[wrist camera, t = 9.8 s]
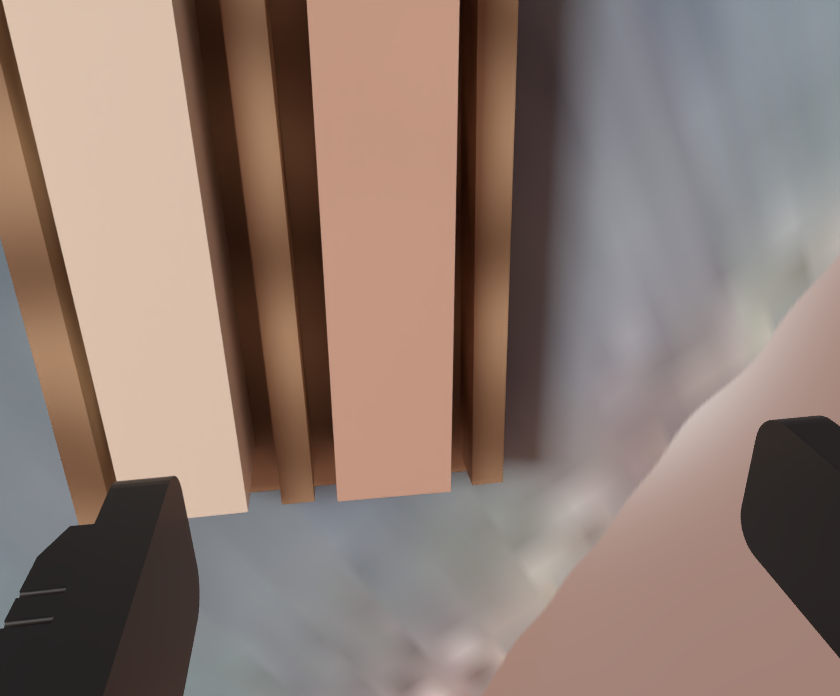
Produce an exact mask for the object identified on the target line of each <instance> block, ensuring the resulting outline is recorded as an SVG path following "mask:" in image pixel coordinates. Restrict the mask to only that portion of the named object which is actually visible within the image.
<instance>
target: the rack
mask: <svg viewBox="0 0 840 696" xmlns="http://www.w3.org/2000/svg"><path fill="white" fill-rule="evenodd" d="M194 1H195V9H196V16H197V23H198V31H199V38H200V45H201V52H202V60H203V67H204V74H205V82H206V89H207V96H208V103H209V111H210V118H211V125H212V133H213V140H214V147H215V154H216V162H217V169H218V176H219V183H220V191H221V198H222V205H223V213H224V220H225V227H226V234H227V242H228V249H229V256H230V264H231V271H232V278H233V285H234V293H235V300H236V307H237V315H238V322H239V329H240V336H241V344H242V351H243V358H244V366H245V373H246V380H247V387H248V395H249V402H250V409H251V417H252V424H253V431H254V438H255V446H256V454H255V461H254V469H253V477H252V485H251V492H260V491H270V490H280V492H281V500H282V504H291V503H301V502H311V501H315V489H314V486H320V485H330V484H337V483H336V467H335V451H334V435H333V419H332V402H331V386H330V370H329V354H328V337H327V321H326V305H325V289H324V273H323V256H322V240H321V224H320V208H319V191H318V175H317V159H316V143H315V127H314V110H313V94H312V78H311V62H310V45H309V29H308V13H307V0H194ZM518 4H519V0H460V5H459V59H458V114H457V169H456V223H455V278H454V333H453V388H452V442H451V472H461V471H467V472H468V475H469V478H470V480H471V483H472V485H478V484H487V483H497V482H503V456H504V426H505V396H506V366H507V336H508V305H509V275H510V245H511V215H512V185H513V155H514V125H515V94H516V64H517V34H518ZM0 237H1V241H2V245H3V248H4V252H5V256H6V259H7V263H8V267H9V270H10V274H11V278H12V281H13V285H14V289H15V292H16V296H17V300H18V303H19V307H20V311H21V314H22V318H23V322H24V325H25V329H26V333H27V336H28V340H29V344H30V347H31V351H32V355H33V358H34V362H35V366H36V369H37V373H38V376H39V380H40V384H41V387H42V391H43V395H44V398H45V402H46V406H47V409H48V413H49V417H50V420H51V424H52V428H53V431H54V435H55V439H56V442H57V446H58V450H59V453H60V457H61V461H62V464H63V468H64V472H65V475H66V479H67V483H68V486H69V490H70V494H71V497H72V501H73V505H74V508H75V512H76V516H77V519H78V523H79V525H86V524H94V523H95V521H96V519H97V516H98V514H99V512H100V509H101V507H102V505H103V502H104V500H105V498H106V496H107V493H108V491H109V489H110V487H111V485H112V484H113V483H114V482H116V481H117V480H116V476H115V472H114V468H113V464H112V459H111V455H110V451H109V447H108V443H107V438H106V434H105V430H104V426H103V422H102V417H101V413H100V409H99V405H98V401H97V396H96V392H95V388H94V384H93V380H92V375H91V371H90V367H89V363H88V359H87V355H86V350H85V346H84V342H83V338H82V334H81V329H80V325H79V321H78V317H77V313H76V308H75V304H74V300H73V296H72V292H71V287H70V283H69V279H68V275H67V271H66V266H65V262H64V258H63V254H62V250H61V245H60V241H59V237H58V233H57V229H56V224H55V220H54V216H53V212H52V208H51V204H50V199H49V195H48V191H47V187H46V183H45V178H44V174H43V170H42V166H41V162H40V157H39V153H38V149H37V145H36V141H35V136H34V132H33V128H32V124H31V120H30V115H29V111H28V107H27V103H26V99H25V94H24V90H23V86H22V82H21V78H20V74H19V69H18V65H17V61H16V57H15V53H14V48H13V44H12V40H11V36H10V32H9V27H8V23H7V19H6V15H5V11H4V6H3V2H2V0H0Z"/></svg>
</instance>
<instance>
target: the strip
mask: <svg viewBox="0 0 840 696" xmlns="http://www.w3.org/2000/svg"><path fill="white" fill-rule="evenodd" d="M2 2H3V6H4V11H5V15H6V19H7V23H8V27H9V32H10V36H11V40H12V44H13V48H14V53H15V57H16V61H17V65H18V69H19V74H20V78H21V82H22V86H23V90H24V94H25V99H26V103H27V107H28V111H29V115H30V120H31V124H32V128H33V132H34V136H35V141H36V145H37V149H38V153H39V157H40V162H41V166H42V170H43V174H44V178H45V183H46V187H47V191H48V195H49V199H50V204H51V208H52V212H53V216H54V220H55V224H56V229H57V233H58V237H59V241H60V245H61V250H62V254H63V258H64V262H65V266H66V271H67V275H68V279H69V283H70V287H71V292H72V296H73V300H74V304H75V308H76V313H77V317H78V321H79V325H80V329H81V334H82V338H83V342H84V346H85V350H86V355H87V359H88V363H89V367H90V371H91V375H92V380H93V384H94V388H95V392H96V396H97V401H98V405H99V409H100V413H101V417H102V422H103V426H104V430H105V434H106V438H107V443H108V447H109V451H110V455H111V459H112V464H113V468H114V472H115V476H116V480H117V481H125V480H135V479H146V478H156V477H167V476H176V477H177V478H178V479H179V482H180V484H181V488H182V492H183V497H184V502H185V507H186V512H187V517H188V518H193V517H203V516H213V515H223V514H232V513H242V512H248V508H249V500H250V492H251V485H252V477H253V469H254V461H255V454H256V446H255V438H254V431H253V424H252V417H251V409H250V402H249V395H248V387H247V380H246V373H245V366H244V358H243V351H242V344H241V336H240V329H239V322H238V315H237V307H236V300H235V293H234V285H233V278H232V271H231V264H230V256H229V249H228V242H227V234H226V227H225V220H224V213H223V205H222V198H221V191H220V183H219V176H218V169H217V162H216V154H215V147H214V140H213V133H212V125H211V118H210V111H209V103H208V96H207V89H206V82H205V74H204V67H203V60H202V52H201V45H200V38H199V31H198V23H197V16H196V9H195V1H194V0H2Z"/></svg>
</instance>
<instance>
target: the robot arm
mask: <svg viewBox="0 0 840 696" xmlns="http://www.w3.org/2000/svg"><path fill="white" fill-rule="evenodd" d="M741 525H742V531H743V534H744V537H745V540H746V543H747V545H748V547H749V549H750V550H751V552H752V553H753V555H754V556H755V557H756V559H757V560H758V561H759V562H760V563H761V565H762V566H763V567H764V568H765V569H766V570H767V572H768V573H769V574H770V575H771V576H772V578H773V579H774V580H775V581H776V582H777V583H778V585H779V586H780V587H781V589H782V590H783V591H784V592H785V593H786V594H787V596H788V597H789V598H790V599H791V600H792V602H793V603H794V604H795V605H796V606H797V608H798V609H799V610H800V611H801V612H802V614H803V615H804V616H805V617H806V618H807V620H808V621H809V622H810V623H811V624H812V625H813V627H814V628H815V629H816V630H817V632H818V633H819V634H820V635H821V636H822V638H823V639H824V640H825V641H826V642H827V643H828V644H829V646H830V647H831V648H832V650H833V651H834V652H835V653H836V654H837V656H838V657H839V658H840V426H838V425H837V424H836V423H835V422H833V421H832V420H830V419H828V418H827V417H824V416H809V417H799V418H788V419H778V420H769V421H767V422H765V423H764V424H763V425H761V427H760V428H759V431H758V433H757V436H756V440H755V445H754V450H753V455H752V460H751V464H750V469H749V474H748V479H747V483H746V488H745V493H744V498H743V503H742V508H741ZM198 613H199V576H198V569H197V563H196V558H195V553H194V548H193V543H192V538H191V533H190V528H189V522H188V517H187V512H186V507H185V502H184V497H183V492H182V488H181V484H180V482H179V479H178V478H177V477H176V476H167V477H156V478H146V479H135V480H125V481H116V482H114V483H113V484H112V485H111V487H110V489H109V491H108V493H107V496H106V498H105V500H104V502H103V505H102V507H101V509H100V512H99V514H98V516H97V519H96V521H95V523H94V524H87V525H77V526H70V527H69V528H68V529H67V530H65V531H64V532H63V533H62V534H61V535H60V536H59V537H58V538H57V539H56V540H55V541H54V542H53V543H52V544H51V545H49V546H48V547H47V548H46V549H45V550H44V551H43V552H42V553H41V554H40V555H39V556H38V557H37V559H36V560H35V562H34V564H33V566H32V568H31V570H30V572H29V574H28V576H27V578H26V580H25V582H24V584H23V586H22V588H21V590H20V597H19V598H16V599H15V601H14V603H13V605H12V607H11V609H10V611H9V613H8V615H7V617H6V619H5V621H4V622H5V626H4V628H3V629H0V696H183V694H184V689H185V683H186V678H187V673H188V668H189V662H190V657H191V652H192V647H193V641H194V636H195V631H196V625H197V620H198Z"/></svg>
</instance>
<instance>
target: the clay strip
mask: <svg viewBox="0 0 840 696" xmlns="http://www.w3.org/2000/svg"><path fill="white" fill-rule="evenodd" d="M459 5H460V0H307V13H308V29H309V45H310V62H311V78H312V94H313V110H314V127H315V143H316V159H317V175H318V191H319V208H320V224H321V240H322V256H323V273H324V289H325V305H326V321H327V337H328V354H329V370H330V386H331V402H332V419H333V435H334V451H335V467H336V483H337V500H338V501H348V500H359V499H370V498H382V497H393V496H405V495H416V494H428V493H439V492H451V442H452V388H453V333H454V278H455V223H456V169H457V114H458V59H459Z"/></svg>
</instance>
